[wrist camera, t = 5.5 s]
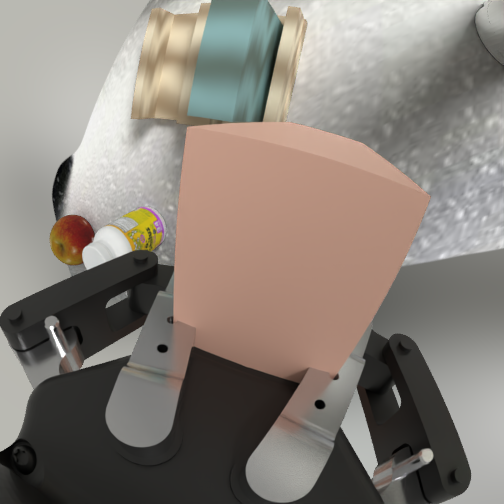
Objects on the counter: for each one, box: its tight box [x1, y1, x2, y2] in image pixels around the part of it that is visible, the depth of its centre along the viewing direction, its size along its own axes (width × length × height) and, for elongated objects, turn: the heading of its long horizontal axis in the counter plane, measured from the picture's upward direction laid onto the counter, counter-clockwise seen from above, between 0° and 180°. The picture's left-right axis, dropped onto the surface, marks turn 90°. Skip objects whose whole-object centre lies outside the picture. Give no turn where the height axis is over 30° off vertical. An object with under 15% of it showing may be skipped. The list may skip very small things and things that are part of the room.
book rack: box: [131, 0, 307, 126], centre depth 23 cm, size 15×18×12 cm
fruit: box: [50, 215, 95, 265], centre depth 43 cm, size 10×9×8 cm
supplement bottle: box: [82, 206, 166, 270], centre depth 35 cm, size 7×7×13 cm
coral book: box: [173, 122, 431, 383], centre depth 11 cm, size 12×4×11 cm, turn 169°
